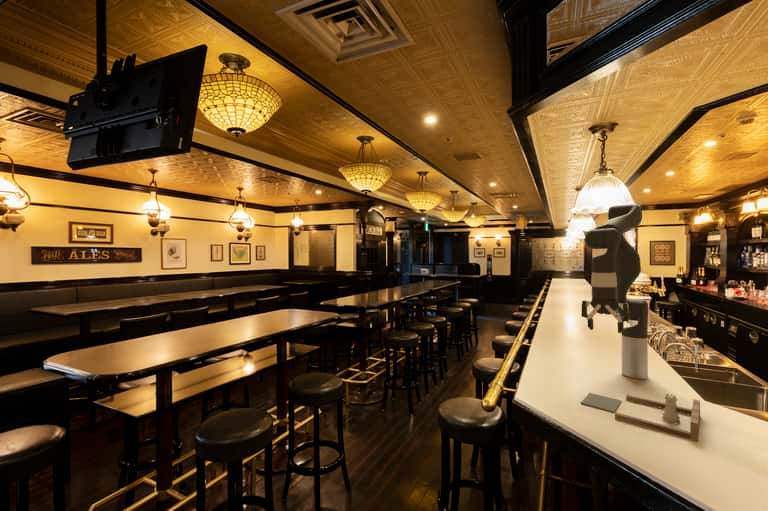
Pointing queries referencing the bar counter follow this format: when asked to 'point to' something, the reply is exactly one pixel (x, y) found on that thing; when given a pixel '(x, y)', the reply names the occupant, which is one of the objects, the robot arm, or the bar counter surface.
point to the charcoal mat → (601, 402)
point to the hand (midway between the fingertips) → (605, 331)
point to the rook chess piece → (670, 409)
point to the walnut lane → (667, 429)
